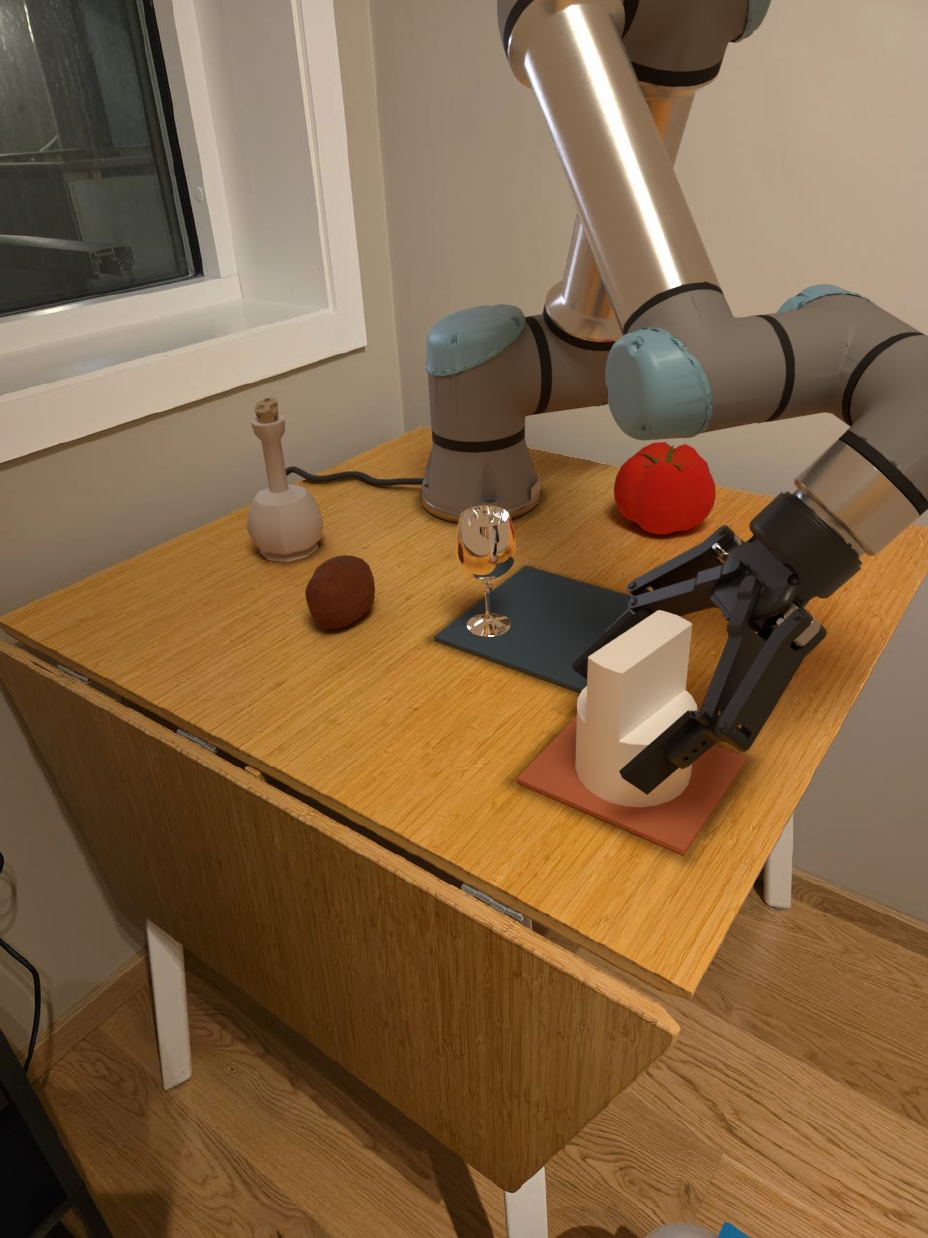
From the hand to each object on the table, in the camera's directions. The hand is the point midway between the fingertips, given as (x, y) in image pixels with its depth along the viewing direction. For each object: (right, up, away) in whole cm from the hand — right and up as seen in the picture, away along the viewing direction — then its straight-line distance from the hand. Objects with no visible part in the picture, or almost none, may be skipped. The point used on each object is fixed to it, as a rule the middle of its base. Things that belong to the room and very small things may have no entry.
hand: (605, 725), depth 69 cm
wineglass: (-8, +7, +22) cm, 24 cm away
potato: (-23, +8, +26) cm, 36 cm away
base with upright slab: (+3, -4, +3) cm, 5 cm away
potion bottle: (-32, +16, +39) cm, 53 cm away
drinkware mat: (-1, +7, +22) cm, 23 cm away
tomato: (+13, +19, +40) cm, 47 cm away
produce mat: (+3, -4, +3) cm, 6 cm away
